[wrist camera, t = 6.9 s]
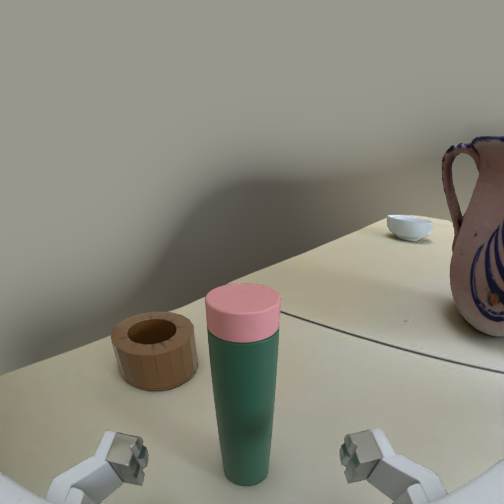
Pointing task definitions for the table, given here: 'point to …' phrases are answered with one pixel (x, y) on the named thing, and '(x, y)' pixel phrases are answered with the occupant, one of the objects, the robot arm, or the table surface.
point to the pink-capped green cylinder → (244, 375)
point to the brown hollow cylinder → (155, 350)
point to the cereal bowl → (409, 227)
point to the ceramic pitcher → (479, 236)
